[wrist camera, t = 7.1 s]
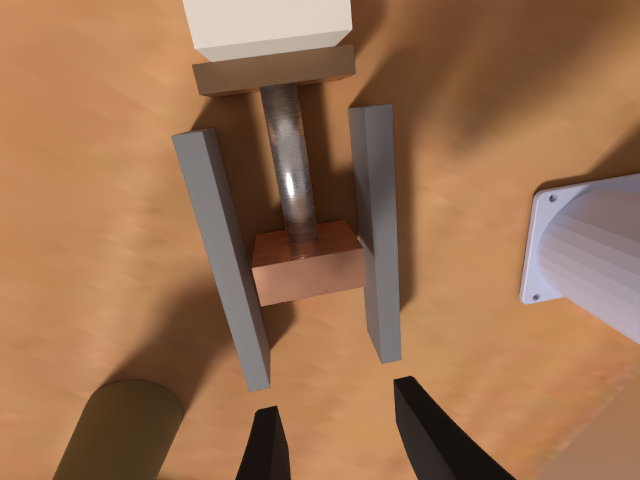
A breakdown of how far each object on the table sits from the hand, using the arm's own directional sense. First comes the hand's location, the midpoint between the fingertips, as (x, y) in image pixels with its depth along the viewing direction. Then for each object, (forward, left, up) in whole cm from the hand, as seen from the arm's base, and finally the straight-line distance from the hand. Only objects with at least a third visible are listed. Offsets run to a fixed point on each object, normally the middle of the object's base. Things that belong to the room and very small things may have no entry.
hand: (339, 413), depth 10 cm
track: (0, -2, -9) cm, 10 cm away
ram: (0, -6, -9) cm, 11 cm away
